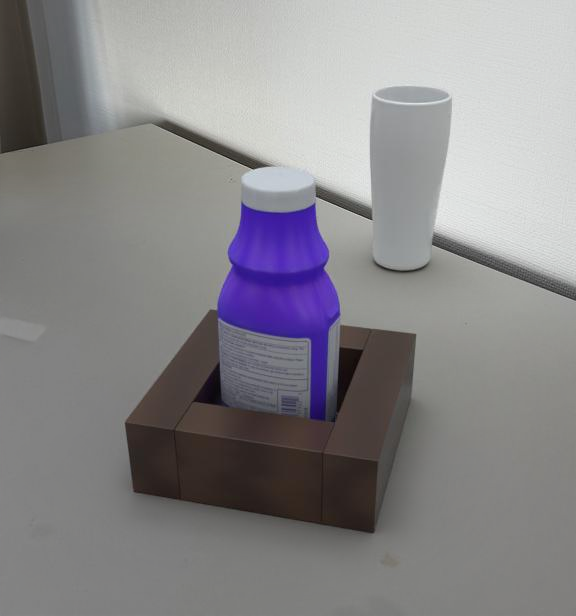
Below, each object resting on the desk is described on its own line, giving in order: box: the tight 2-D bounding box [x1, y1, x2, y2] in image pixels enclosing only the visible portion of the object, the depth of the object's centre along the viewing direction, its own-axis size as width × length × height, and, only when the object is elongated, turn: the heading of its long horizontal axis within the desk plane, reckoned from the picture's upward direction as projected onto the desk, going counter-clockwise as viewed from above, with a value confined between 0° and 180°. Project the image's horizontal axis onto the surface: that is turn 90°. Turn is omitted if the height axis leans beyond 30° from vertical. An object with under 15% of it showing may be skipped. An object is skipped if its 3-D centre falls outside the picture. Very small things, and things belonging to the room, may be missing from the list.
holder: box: [124, 309, 417, 533], centre depth 55 cm, size 14×14×5 cm
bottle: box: [216, 166, 342, 423], centre depth 52 cm, size 7×6×17 cm
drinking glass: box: [368, 84, 453, 272], centre depth 76 cm, size 7×7×15 cm
